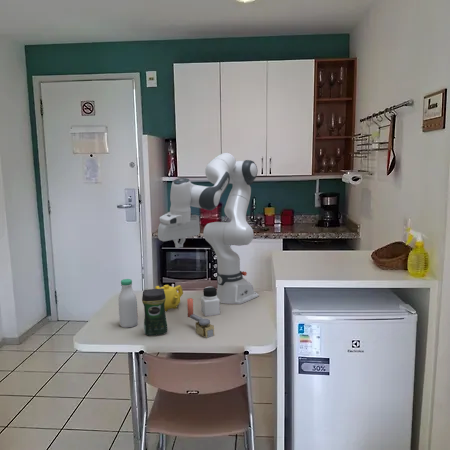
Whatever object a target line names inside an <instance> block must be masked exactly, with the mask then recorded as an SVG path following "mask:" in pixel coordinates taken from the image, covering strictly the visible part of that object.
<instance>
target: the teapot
mask: <svg viewBox="0 0 450 450" xmlns="http://www.w3.org/2000/svg"><path fill="white" fill-rule="evenodd" d="M161 288H163V289H164V292H165V296H166V300H165V304H164V305H165V311H166V312H168V310H170V309H174V310H176V309H178V306H179V305H180V304H181V298H182V296H183V295H184V290H183V287H182V285H179V284H177V285H176V286H170V285H169V284H165V285H163V286H161V287H160V286H159V285H156V286H154V289H161Z"/></svg>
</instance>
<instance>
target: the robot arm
mask: <svg viewBox="0 0 450 450" xmlns="http://www.w3.org/2000/svg"><path fill="white" fill-rule="evenodd" d="M258 171H259V170H258V166H257V164H256V163H255V161H254V160H250V159H245V160H236V158H235V156H234V155H233V154H231V153H229V152H222V153H220V154H219V155H217V156H216V157H214V158H213V159H211V161H209V162H208V163H207V165H206V166H205V171H204V172H205V173H204V174H205V176H206V178H207V180H208V181H209V183H211V184H212V185H213V186H205V185H197V184H194V183H193V182H191V180H190V179H189V178H186V177H178V178H176V179H174V180H172V183H171V186H170V187H171V188H170V192H169V193H170V198H169V199H170V207H169V211H167V212H166V213H164V214H163V215H161V216H159V225H158V227H157V238H158V240H159V241H162V242H168V241H169V242H170V241H173V242H174V246H175V247H174V248H175V249H182V248H184V243H185V242H186V238H190V237H196V236H199V234H200V233H201V229H200V217H199V215H197V214H192V212H191V211H192V209H191V207H193V208H196V209H197V208H198V209H203V210H206V211H213V210H214V209H216V208H217V207H218V205H219V203H220V201H221V198H222V196H223V194H224V193H225V192H226V190H227V188H228V186H229V185H230V184H231V185H232V188H231V190H230V192H229V195H228V197H227V200H226V203H225V206H224V209H223V210H224V214H225V216H226V217H227V218H228V219H229V220H230V221H228V222H224V221H214V222H213V221H212V222H209V223H206V225H205V226H204V228H203V232H202V233H203V238H204V239H205V241H206V242H207V243H208V244H209V245H210V246H211V247H212V250H214V254H215V255H216V260H217V261H216V262H217V271H216V280H217V288H216V289H217V297H218V299H219V300H220V303H222V304H228V305H229V304H232V305H233V304H236V305H242V304H244V303H246V302H249V301H251V300H253V299H256V298H258V297H259V293H257V292H256V291H255V290H254V285H253V284H252V282H250V281H248V280H247V279H245V278H244V277H246V276H247V274H248V273H247V272H246V271H242V270H241V259H240V255H239V254H238V253H237V252H236V251H234V250H233V249H232V247H231V246H238V247H240V246H248V245H250V244H251V243H252V241H253V239H254V236H255V235H254V234H255V233H254V229H253V228H252V226H251V225H250V224H249V223H248V222H247V211H248V207H249V205H250V200H251V194H252V187H251V186H250V185H252V184H253V183H254V181H255V180H256V178H257V176H258ZM179 239H180V240H179Z"/></svg>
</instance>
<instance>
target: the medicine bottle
mask: <svg viewBox="0 0 450 450" xmlns="http://www.w3.org/2000/svg"><path fill="white" fill-rule="evenodd" d="M200 305H201V313H202V314H203V316H205V317H210V316H211V317H212V316H217V315H221V306H220V305H221V304H220V300H219V299H218V297H217V288H216V287H214V286H206V287H204V288H203V296H201V297H200Z"/></svg>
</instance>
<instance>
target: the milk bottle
mask: <svg viewBox="0 0 450 450" xmlns="http://www.w3.org/2000/svg"><path fill="white" fill-rule="evenodd" d="M120 286H121V290H120V293H119V296H118V314H119V318H118V319H119V326H120V327H122V328H134V327H136V326H137V325H138V324H139V316H138V315H139V314H138V301H137V296H136V293H135V291H134V290H133V280H132V279H130V278H124V279H121V281H120Z"/></svg>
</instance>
